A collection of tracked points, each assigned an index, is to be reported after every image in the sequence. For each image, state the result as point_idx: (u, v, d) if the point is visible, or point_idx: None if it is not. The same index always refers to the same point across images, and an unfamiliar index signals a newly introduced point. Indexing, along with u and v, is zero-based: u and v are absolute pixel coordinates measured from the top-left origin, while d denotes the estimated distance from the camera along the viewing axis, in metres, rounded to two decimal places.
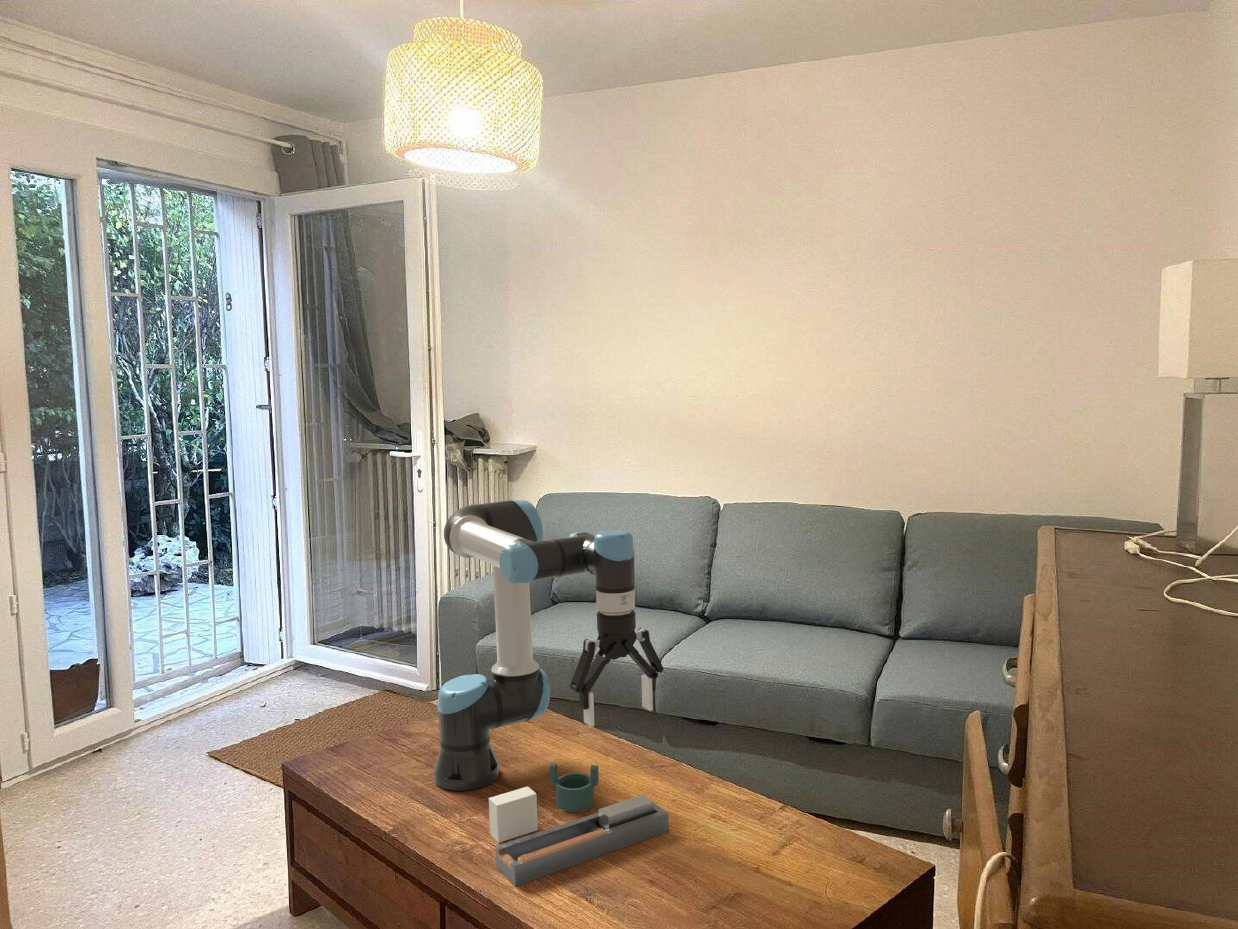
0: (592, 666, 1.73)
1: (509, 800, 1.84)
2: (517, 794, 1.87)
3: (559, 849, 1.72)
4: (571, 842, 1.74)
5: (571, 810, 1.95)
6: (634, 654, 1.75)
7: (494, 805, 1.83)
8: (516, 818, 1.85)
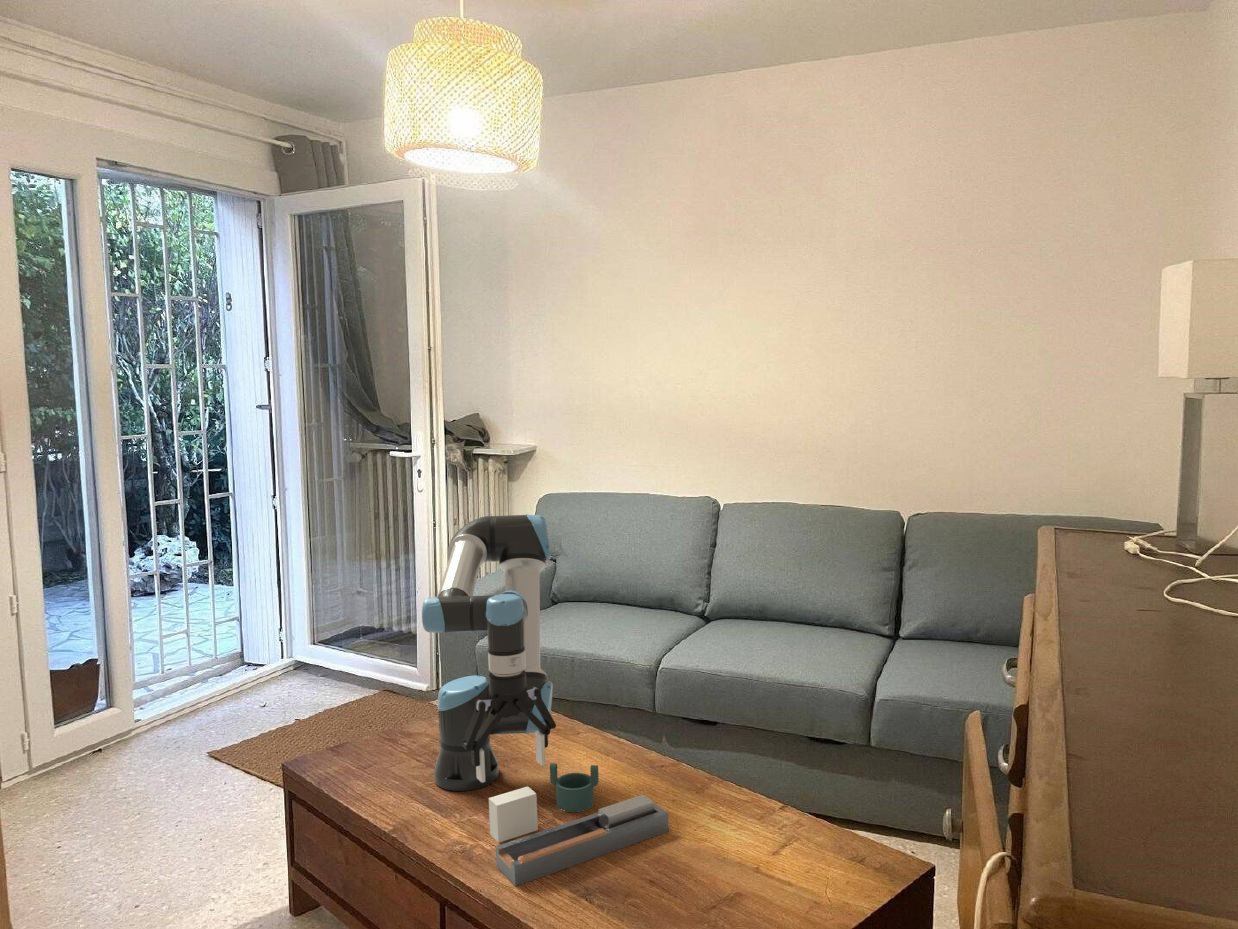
0: (484, 724, 1.82)
1: (509, 800, 1.84)
2: (517, 794, 1.87)
3: (559, 849, 1.72)
4: (571, 842, 1.74)
5: (571, 810, 1.95)
6: (525, 712, 1.85)
7: (494, 805, 1.83)
8: (516, 818, 1.85)
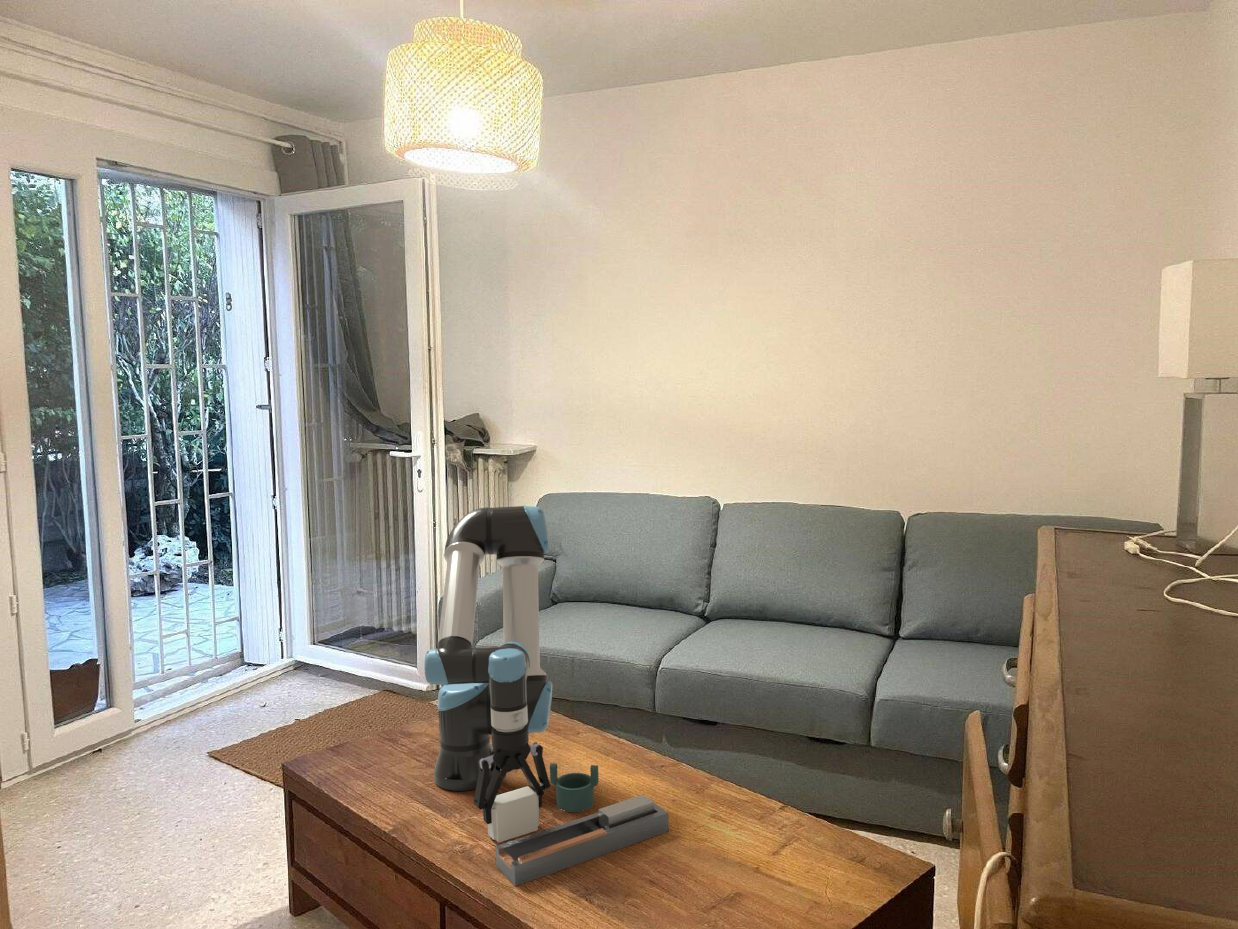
0: (491, 781, 1.84)
1: (509, 800, 1.84)
2: (517, 794, 1.87)
3: (559, 849, 1.72)
4: (571, 842, 1.74)
5: (571, 810, 1.95)
6: (525, 768, 1.86)
7: (494, 805, 1.83)
8: (516, 818, 1.85)
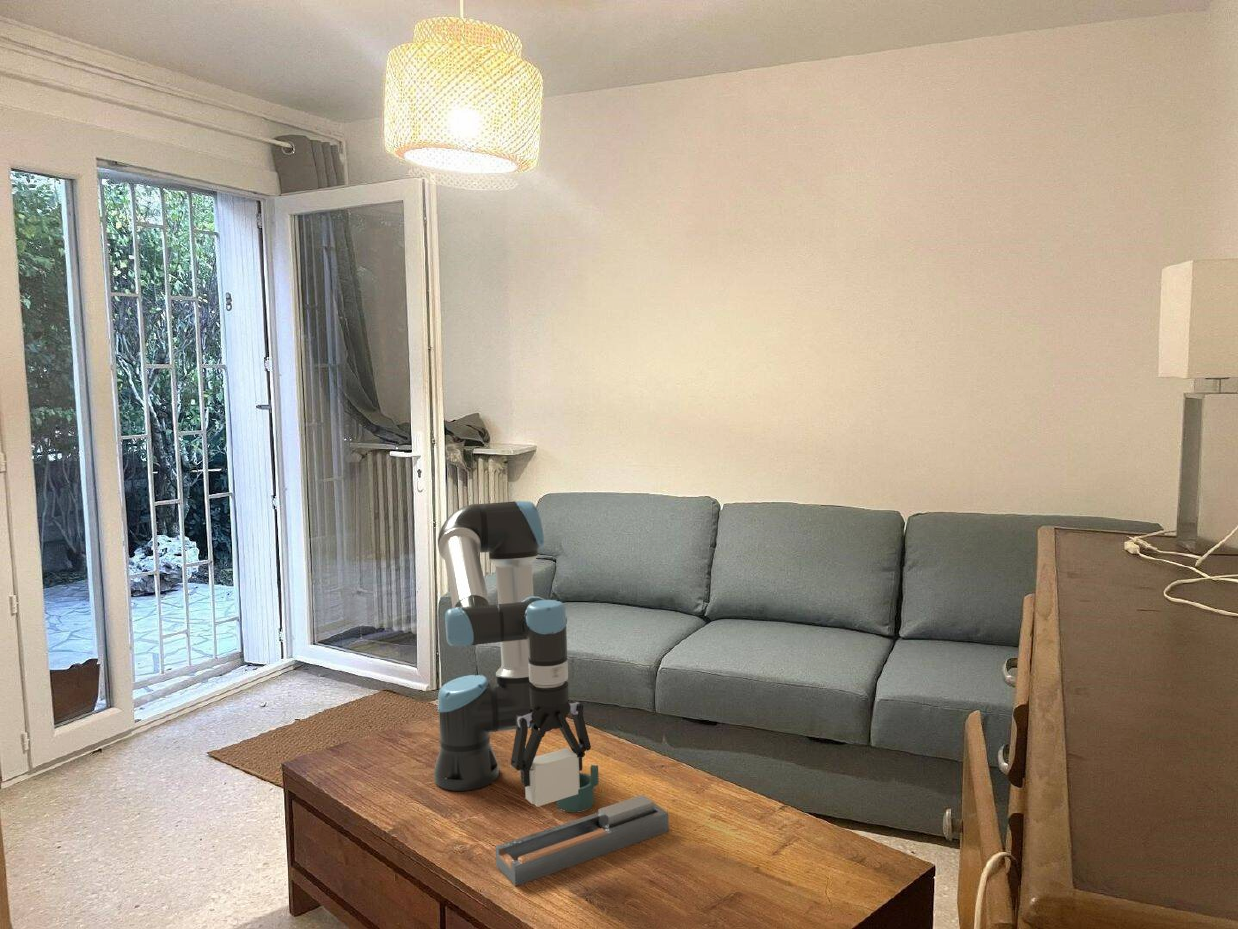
0: (529, 741, 1.72)
1: (548, 761, 1.72)
2: (556, 755, 1.75)
3: (559, 849, 1.72)
4: (571, 842, 1.74)
5: (571, 810, 1.95)
6: (565, 728, 1.74)
7: (532, 766, 1.71)
8: (555, 780, 1.73)
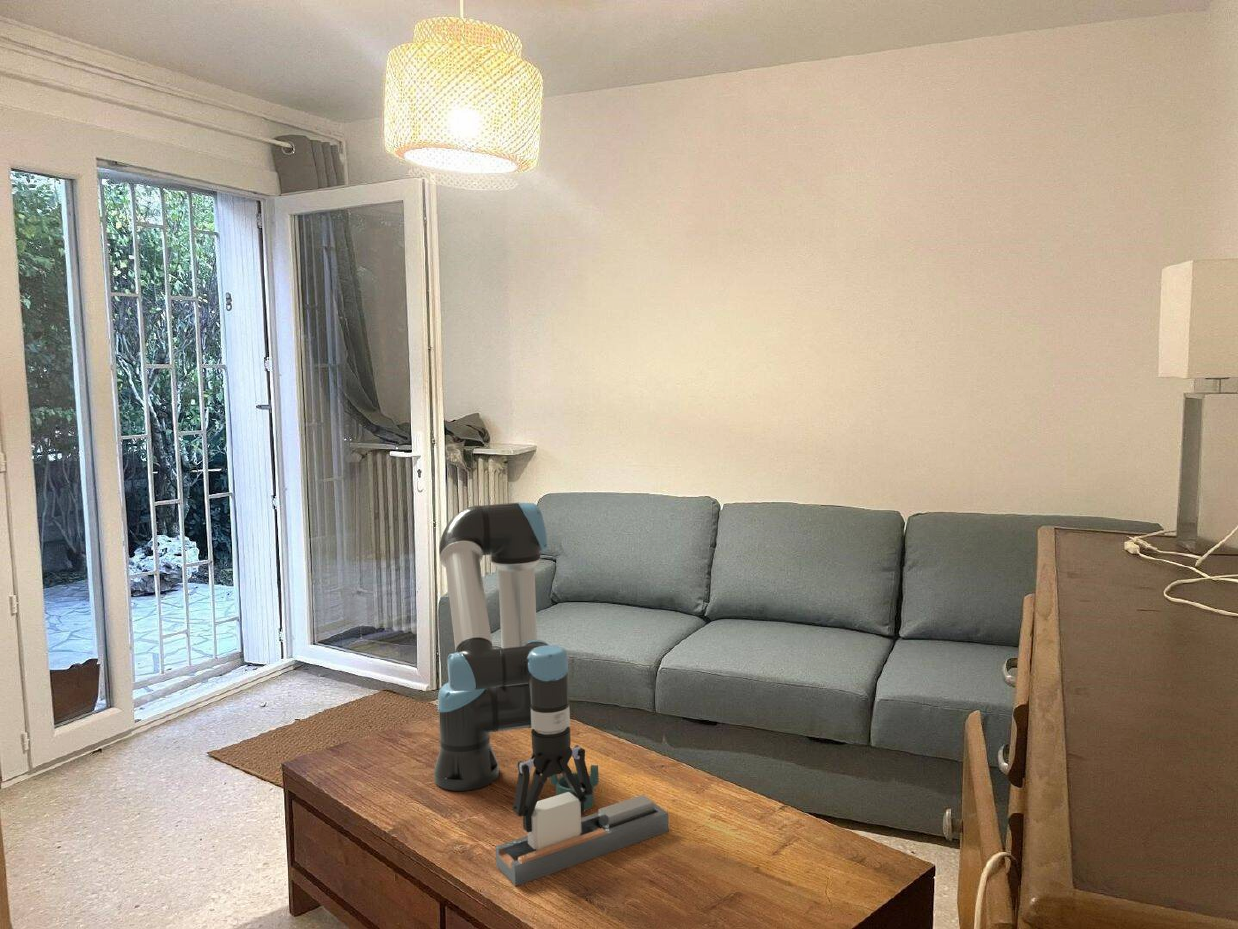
0: (531, 787, 1.73)
1: (550, 806, 1.73)
2: (558, 800, 1.76)
3: (559, 849, 1.72)
4: (571, 842, 1.74)
5: None
6: (567, 773, 1.75)
7: (534, 812, 1.72)
8: (557, 825, 1.74)
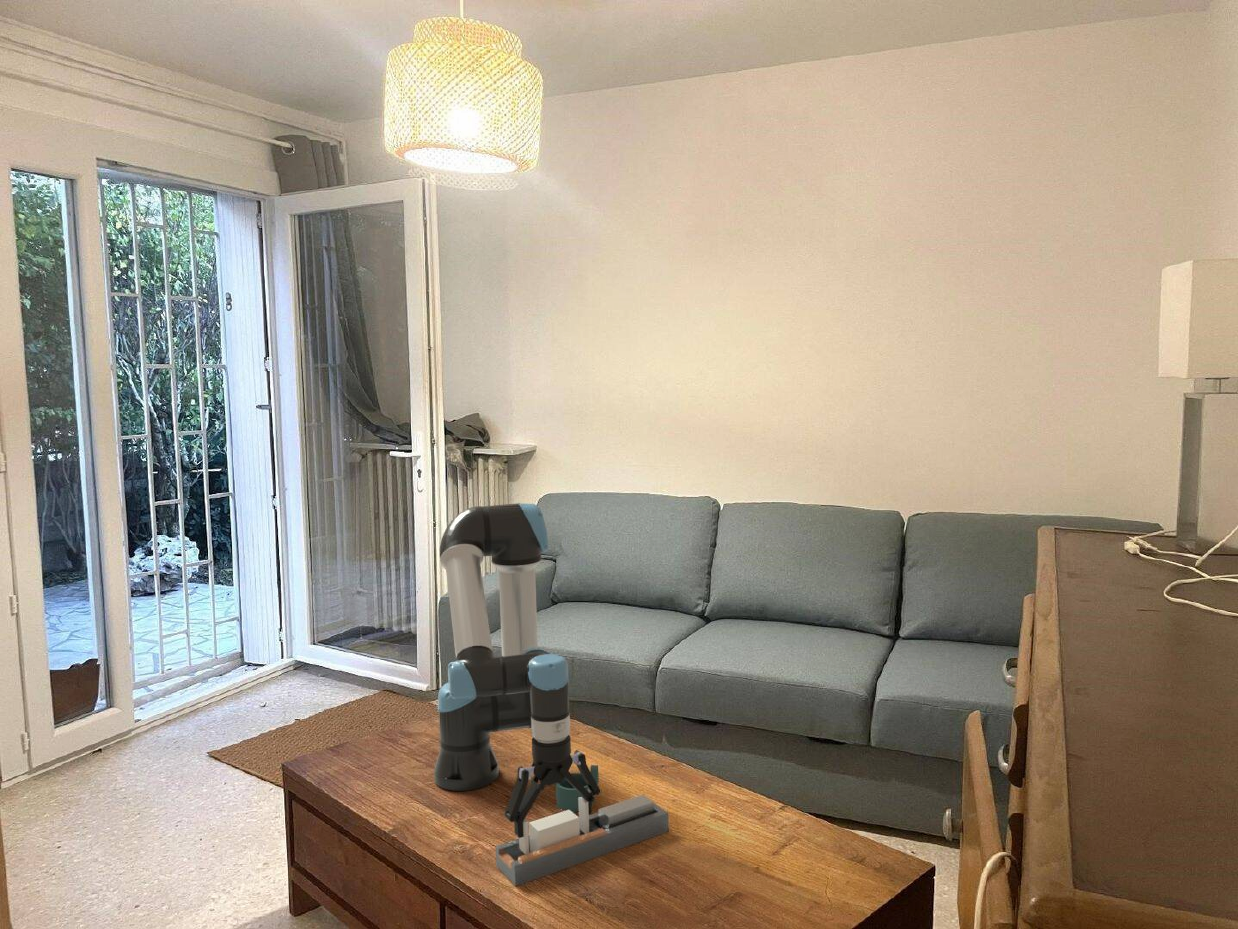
0: (527, 793, 1.73)
1: (551, 825, 1.74)
2: (559, 818, 1.76)
3: (559, 849, 1.72)
4: (571, 842, 1.74)
5: (571, 810, 1.95)
6: (569, 779, 1.75)
7: (535, 830, 1.73)
8: None
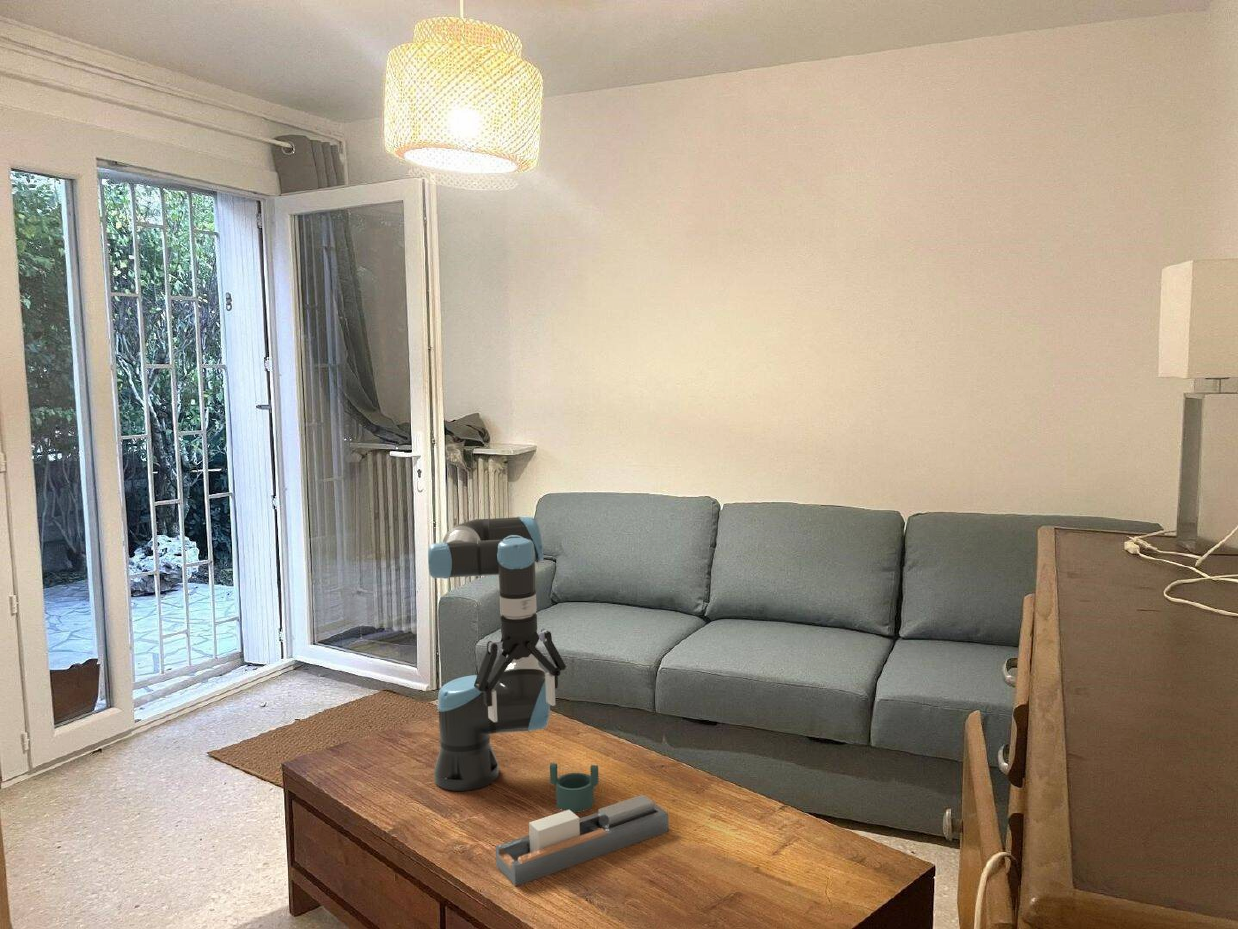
0: (496, 666, 1.84)
1: (551, 825, 1.74)
2: (559, 818, 1.76)
3: (559, 849, 1.72)
4: (571, 842, 1.74)
5: (571, 810, 1.95)
6: (536, 654, 1.87)
7: (535, 830, 1.73)
8: None
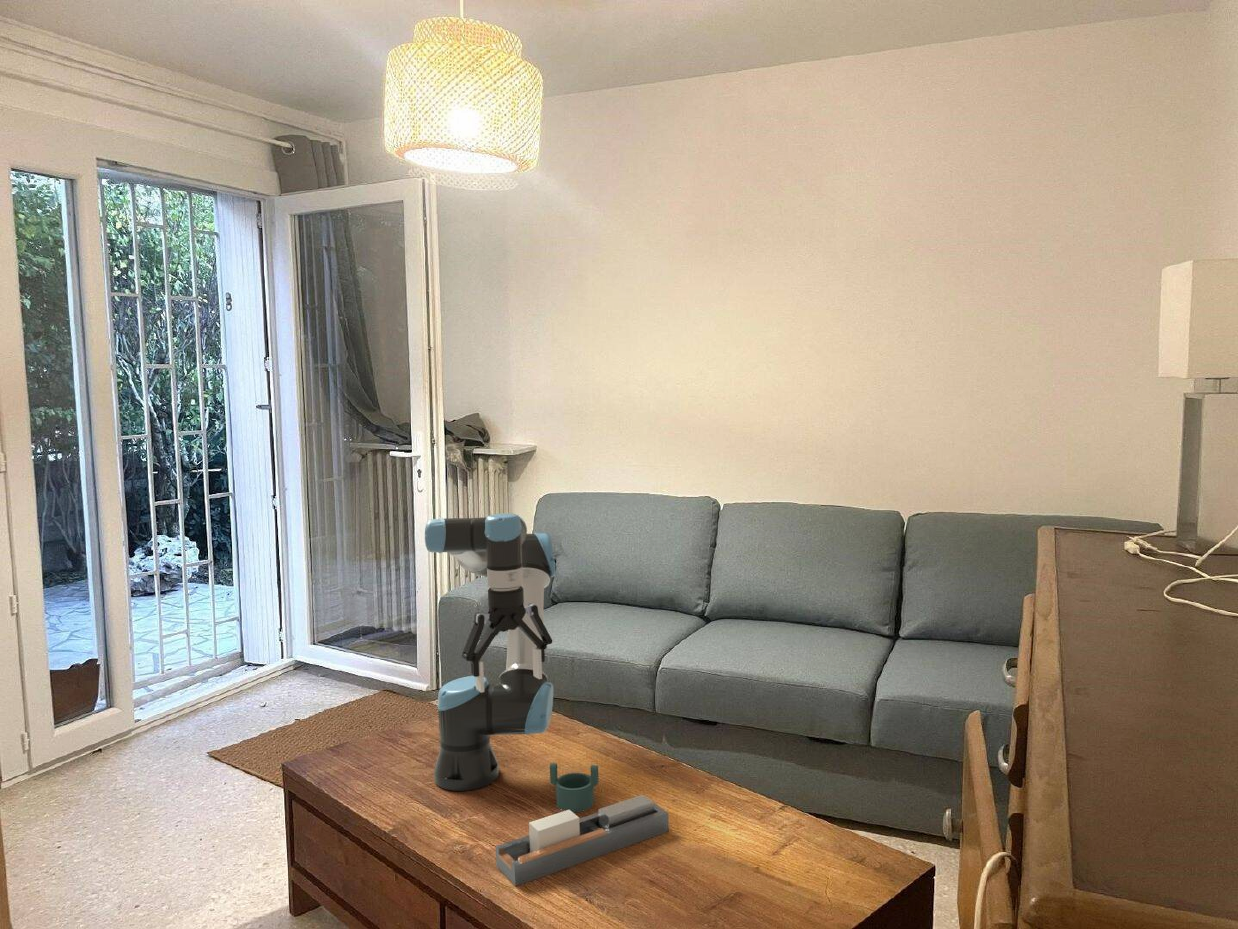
0: (483, 637, 1.90)
1: (551, 825, 1.74)
2: (559, 818, 1.76)
3: (559, 849, 1.72)
4: (571, 842, 1.74)
5: (571, 810, 1.95)
6: (523, 627, 1.92)
7: (535, 830, 1.73)
8: None
